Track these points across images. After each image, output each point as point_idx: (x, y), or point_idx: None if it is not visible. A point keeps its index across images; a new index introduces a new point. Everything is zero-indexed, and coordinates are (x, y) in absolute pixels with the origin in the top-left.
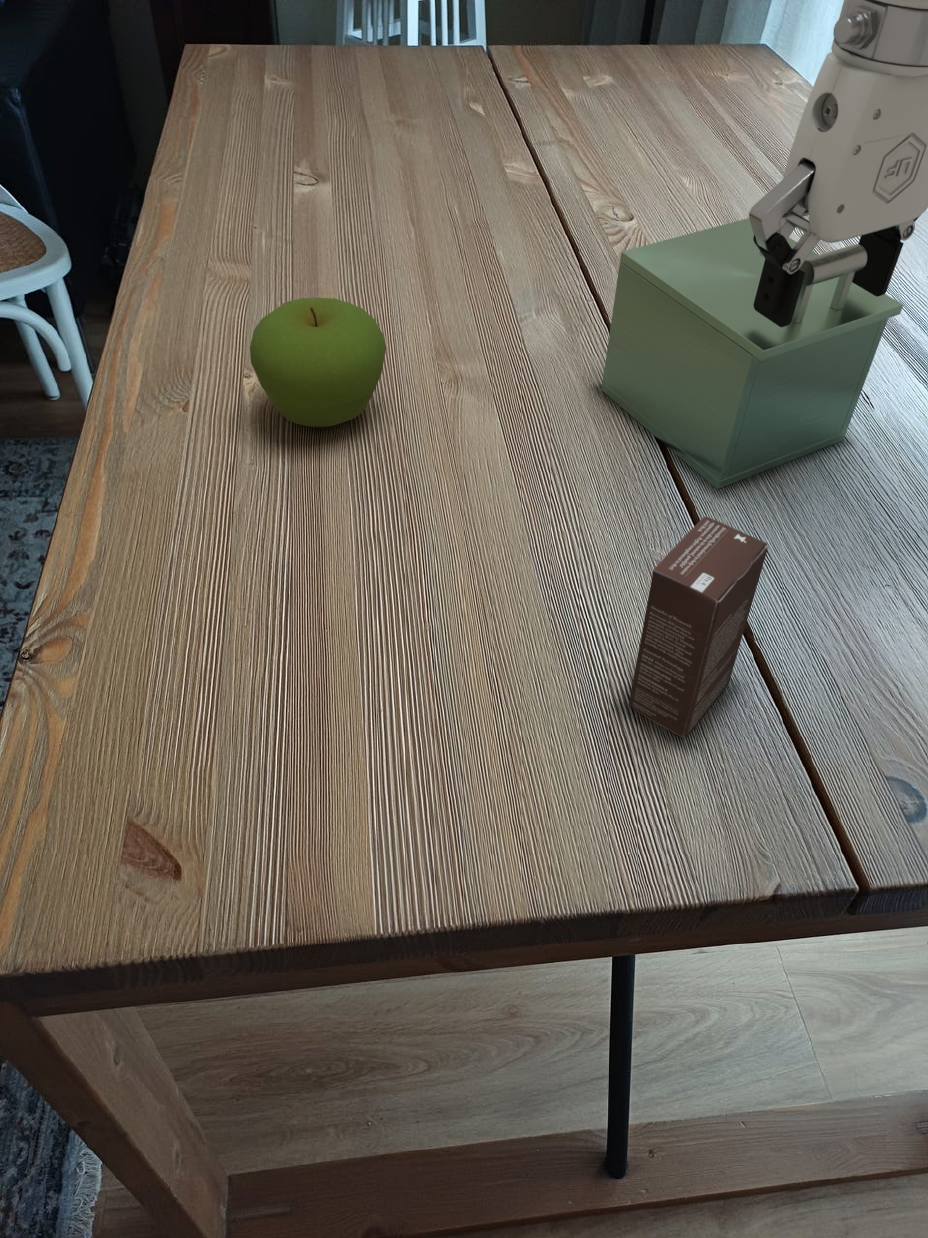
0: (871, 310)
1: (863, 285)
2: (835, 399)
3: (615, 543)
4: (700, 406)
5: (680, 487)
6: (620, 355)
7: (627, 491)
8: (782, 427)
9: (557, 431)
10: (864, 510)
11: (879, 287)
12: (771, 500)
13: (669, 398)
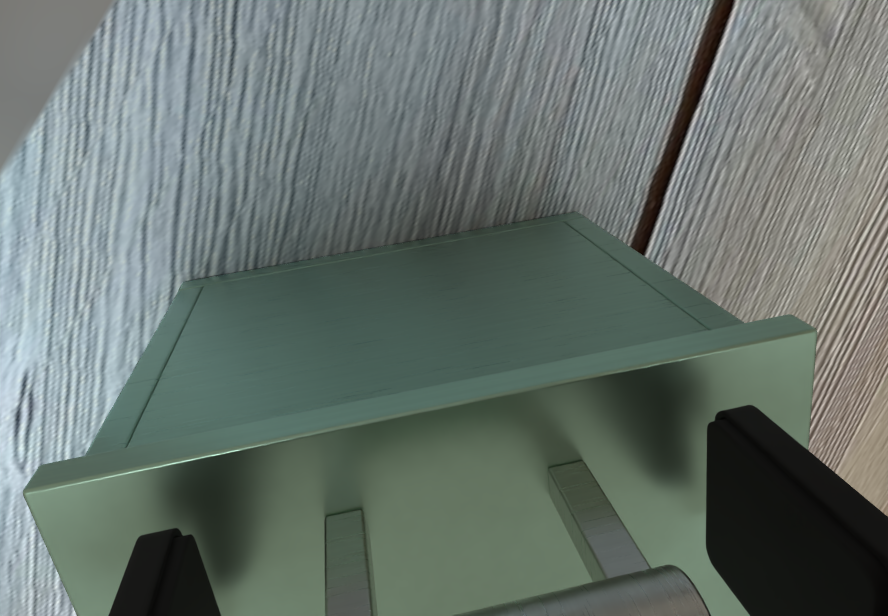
0: (209, 480)
1: (213, 604)
2: (260, 319)
3: (859, 125)
4: None
5: (640, 243)
6: None
7: (741, 264)
8: (444, 274)
9: None
10: (289, 19)
11: (182, 559)
12: (486, 137)
13: None
